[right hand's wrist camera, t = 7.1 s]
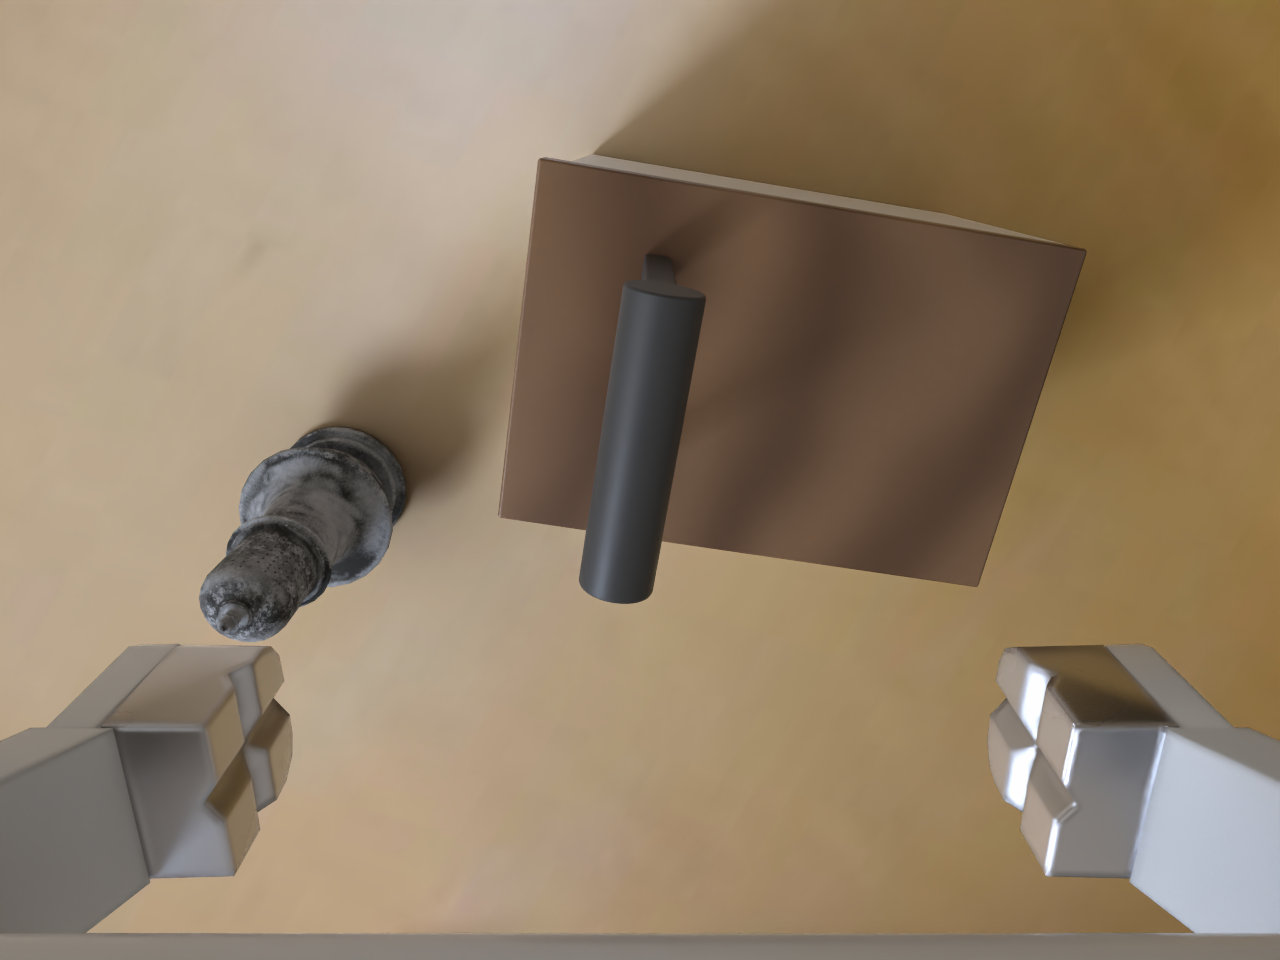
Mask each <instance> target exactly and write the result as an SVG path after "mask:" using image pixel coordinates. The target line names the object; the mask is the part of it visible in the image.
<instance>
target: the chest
mask: <svg viewBox="0 0 1280 960" xmlns="http://www.w3.org/2000/svg"><path fill="white" fill-rule="evenodd" d="M572 162H577V163H583V164H589V165H595V166H601V167H607V168H613V169H618V170H624V171H630V172H636V173H642V174H648V175H654V176H660V177H666V178H672V179H678V180H684V181H690V182H696V183H702V184H708V185H714V186H720V187H726V188H732V189H738V190H744V191H750V192H756V193H762V194H768V195H774V196H779V197H785V198H791V199H797V200H803V201H809V202H815V203H821V204H827V205H833V206H839V207H845V208H851V209H857V210H863V211H869V212H875V213H881V214H887V215H893V216H899V217H905V218H911V219H917V220H923V221H929V222H935V223H941V224H946V225H952V226H958V227H964V228H970V229H976V230H982V231H988V232H994V233H1000V234H1006V235H1012V236H1018V237H1024V238H1030V239H1036V240H1042V241H1048V242H1054V243H1059V242H1055V241H1051V240H1047V239H1043V238H1039V237H1035V236H1031V235H1027V234H1023V233H1019V232H1015V231H1011V230H1007V229H1003V228H999V227H996V226H992V225H988V224H984V223H980V222H976V221H972V220H968V219H964V218H960V217H956V216H952V215H948V214H944V213H938V212H932V211H927V210H921V209H915V208H909V207H903V206H897V205H891V204H885V203H879V202H873V201H867V200H861V199H855V198H849V197H843V196H837V195H831V194H826V193H820V192H814V191H808V190H802V189H796V188H790V187H784V186H778V185H772V184H766V183H760V182H754V181H748V180H742V179H736V178H730V177H725V176H719V175H713V174H707V173H701V172H695V171H689V170H683V169H677V168H671V167H665V166H659V165H653V164H647V163H641V162H635V161H629V160H624V159H618V158H612V157H606V156H600V155H594V154H592V155H589V156H586V157H583V158H581V159H578V160H575V161H572ZM1060 244H1063V243H1060Z"/></svg>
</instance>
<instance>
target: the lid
mask: <svg viewBox="0 0 1280 960" xmlns="http://www.w3.org/2000/svg"><path fill="white" fill-rule="evenodd" d="M1085 256H1086V250H1085V249H1082V248H1078V247H1074V246H1070V245H1066V244H1060V243H1054V242H1048V241H1042V240H1036V239H1030V238H1024V237H1018V236H1012V235H1006V234H1000V233H994V232H988V231H982V230H976V229H970V228H964V227H958V226H952V225H946V224H941V223H935V222H929V221H923V220H917V219H911V218H905V217H899V216H893V215H887V214H881V213H875V212H869V211H863V210H857V209H851V208H845V207H839V206H833V205H827V204H821V203H815V202H809V201H803V200H797V199H791V198H785V197H779V196H774V195H768V194H762V193H756V192H750V191H744V190H738V189H732V188H726V187H720V186H714V185H708V184H702V183H696V182H690V181H684V180H678V179H672V178H666V177H660V176H654V175H648V174H642V173H636V172H630V171H624V170H618V169H613V168H607V167H601V166H595V165H589V164H583V163H577V162H571V161H565V160H559V159H553V158H547V157H545V158H540V159H539V160H538V166H537V175H536V184H535V193H534V202H533V211H532V220H531V228H530V237H529V246H528V255H527V264H526V273H525V282H524V291H523V300H522V309H521V317H520V326H519V335H518V344H517V353H516V362H515V371H514V380H513V389H512V398H511V406H510V415H509V424H508V433H507V442H506V451H505V460H504V469H503V478H502V487H501V495H500V504H499V513H498V515H499V517H500V518H506V519H513V520H520V521H527V522H534V523H540V524H547V525H554V526H561V527H568V528H575V529H582V530H586V536H585V542H584V549H583V556H582V562H581V569H580V576H579V582H580V585H581V587H582V588H583V590H584V591H586V592H587V593H588V594H590V595H591V596H593V597H595V598H598V599H600V600H603V601H607V602H612V603H619V604H630V603H637V602H641V601H643V600H645V599H647V598H648V597H649V596H650V595H651V593H652V591H653V586H654V581H655V575H656V570H657V564H658V559H659V553H660V548H661V543H662V541H664V542H671V543H678V544H685V545H691V546H698V547H705V548H712V549H719V550H726V551H733V552H740V553H746V554H753V555H760V556H767V557H774V558H781V559H788V560H794V561H801V562H808V563H815V564H822V565H829V566H836V567H842V568H849V569H856V570H863V571H870V572H877V573H884V574H890V575H897V576H904V577H911V578H918V579H925V580H932V581H939V582H945V583H952V584H959V585H966V586H973V587H977V586H978V584H979V581H980V578H981V575H982V572H983V569H984V566H985V563H986V560H987V557H988V554H989V551H990V548H991V545H992V541H993V538H994V535H995V532H996V529H997V526H998V523H999V520H1000V517H1001V514H1002V511H1003V508H1004V505H1005V502H1006V498H1007V495H1008V492H1009V489H1010V486H1011V483H1012V480H1013V477H1014V474H1015V471H1016V468H1017V465H1018V462H1019V459H1020V455H1021V452H1022V449H1023V446H1024V443H1025V440H1026V437H1027V434H1028V431H1029V428H1030V425H1031V422H1032V419H1033V415H1034V412H1035V409H1036V406H1037V403H1038V400H1039V397H1040V394H1041V391H1042V388H1043V385H1044V382H1045V379H1046V376H1047V372H1048V369H1049V366H1050V363H1051V360H1052V357H1053V354H1054V351H1055V348H1056V345H1057V342H1058V339H1059V336H1060V333H1061V329H1062V326H1063V323H1064V320H1065V317H1066V314H1067V311H1068V308H1069V305H1070V302H1071V299H1072V296H1073V293H1074V290H1075V286H1076V283H1077V280H1078V277H1079V274H1080V271H1081V268H1082V265H1083V262H1084V259H1085Z"/></svg>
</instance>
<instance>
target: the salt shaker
mask: <svg viewBox="0 0 1280 960" xmlns="http://www.w3.org/2000/svg"><path fill="white" fill-rule="evenodd" d="M405 500H406V482H405V478H404V475H403V473H402V470H401V467H400V465H399V463H398V462H397V460H396V459H395V457H394V456H393V454H392V453H391V452H390V451H389V450H388V449H387V448H386V447H385V446H384V445H383V444H382V443H381V442H380V441H378V440H376V439H375V438H373V437H371V436H369V435H368V434H366V433H364V432H361V431H357V430H354V429H350V428H342V427H329V428H324V429H320V430H315V431H313V432H311V433H309V434H307V435H306V436H304V437H302V438H300V439H299V440H298V441H297V442H296V443H295V444H294V445H293V446H292V447H291V448H290V449H288V450H284V451H280V452H278V453H276V454H274V455H272V456H271V457H269V458H267V459H265V460H263V461H262V462H261V463H260V464H259V465H258V466H257V467H256V468H255V469H254V470H253V471H252V472H251V473H250V475H249V477H248V479H247V481H246V483H245V485H244V487H243V489H242V492H241V498H240V504H239V512H240V520H241V526H240V527H239V528H238V529H237V530H236V531H235V532H234V533H233V534H232V536H231V538H230V540H229V542H228V545H227V551H226V557H225V558H224V559H223V560H222V561H221V562H220V563H219V564H218V565H217V566H216V567H215V568H214V569H213V570H212V571H211V572H210V573H209V574H208V575H207V577H206V579H205V581H204V583H203V585H202V587H201V590H200V597H199V600H200V607H201V610H202V612H203V614H204V616H205V618H206V620H207V621H208V622H209V624H210V625H211V626H212V627H213V628H214V629H215V630H216V631H218V632H219V633H220V634H222V635H224V636H226V637H228V638H230V639H234V640H238V641H242V642H257V641H262V640H266V639H268V638H270V637H272V636H274V635H275V634H277V633H278V632H279V631H280V630H281V629H283V628H284V627H285V626H286V624H287V623H288V622H289V620H290V619H291V617H292V616H293V615H294V613H295V612H296V611H297V609H298V608H299V607H301V606H305V605H307V604H309V603H311V602H313V601H315V600H316V599H317V598H318V597H319V596H320V595H321V594H322V593H323V592H324V591H325V589H326V587H334V586H339V585H344V584H349V583H352V582H354V581H356V580H358V579H360V578H362V577H364V576H366V575H367V574H368V573H369V572H370V571H371V570H372V569H374V568H375V567H376V566H377V565H378V564H379V563H380V561H381V559H382V558H383V556H384V554H385V553H386V551H387V549H388V547H389V543H390V539H391V535H392V531H393V529H392V526H394V525H395V523H396V522H397V520H398V518H399V516H400V515H401V513H402V511H403V508H404V504H405Z"/></svg>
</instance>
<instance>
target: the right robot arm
mask: <svg viewBox="0 0 1280 960" xmlns="http://www.w3.org/2000/svg"><path fill="white" fill-rule="evenodd" d="M283 682H284V677H283V672H282V667H281V662H280V657H279V654H278V653H277V652H276V651H275V650H274V649H273V648H272V647H271V646H230V645H180V644H147V645H136V646H130V647H128V648H127V649H126V650H125V651H124V652H123V653H122V654H121V655H120V656H119V657H118V658H117V659H116V660H115V661H114V662H113V663H112V664H110V665H109V666H108V667H107V668H106V669H105V670H104V671H103V672H102V673H101V674H100V675H99V676H98V677H97V678H96V679H95V680H94V681H93V682H92V683H91V684H90V685H89V686H88V687H87V688H86V689H85V690H84V691H83V692H82V693H81V694H80V695H79V696H78V697H77V698H76V699H75V700H74V701H73V702H72V703H71V704H70V705H69V706H68V707H67V708H66V709H65V710H64V711H63V712H61V713H60V714H59V715H58V716H57V717H56V718H55V719H54V720H53V721H52V722H51V723H50V724H49V725H48V726H47V727H46V728H29V729H27V730H25V731H22V732H20V733H18V734H16V735H13V736H11V737H9V738H6V739H4V740H2V741H0V960H1280V741H1278V740H1276V739H1274V738H1271V737H1269V736H1267V735H1264V734H1262V733H1260V732H1258V731H1255V730H1253V729H1251V728H1234V727H1233V726H1232V725H1231V724H1230V723H1229V722H1228V721H1227V720H1226V719H1225V718H1224V717H1223V716H1222V715H1221V714H1220V713H1219V712H1218V711H1217V710H1216V709H1215V708H1214V707H1212V706H1211V705H1210V704H1209V703H1208V702H1207V701H1206V700H1205V699H1204V698H1203V697H1202V696H1201V695H1200V694H1199V693H1198V692H1197V691H1196V690H1195V689H1194V688H1193V687H1192V686H1191V685H1190V684H1189V683H1188V682H1187V681H1186V680H1185V679H1184V678H1183V677H1182V676H1181V675H1180V674H1179V673H1178V672H1177V671H1176V670H1175V669H1174V668H1173V667H1172V666H1171V665H1170V664H1169V663H1168V662H1167V661H1166V660H1165V659H1164V658H1163V657H1162V656H1161V655H1160V654H1159V653H1158V652H1157V651H1155V650H1154V649H1153V648H1152V647H1149V646H1146V645H1143V644H1117V645H1083V646H1043V647H1012V648H1005V650H1004V652H1003V654H1002V656H1001V658H1000V661H999V665H998V671H997V677H996V682H997V683H998V685H999V687H1000V688H1001V690H1002V691H1003V693H1004V694H1005V696H1006V697H1007V698H1006V699H1005V700H1004V701H1003V702H1002V703H1001V704H1000V705H999V706H998V707H997V708H996V710H995V711H994V712H993V713H992V714H991V715H990V721H989V729H988V737H987V745H988V756H989V766H990V769H991V772H992V775H993V779H994V782H995V784H996V786H997V788H998V790H999V792H1000V794H1001V796H1002V798H1003V800H1005V801H1006V802H1008V803H1009V804H1011V805H1012V806H1014V807H1015V808H1017V809H1018V810H1020V811H1022V812H1023V814H1022V819H1021V825H1020V831H1021V832H1022V834H1023V836H1024V838H1025V839H1026V841H1027V843H1028V845H1029V847H1030V848H1031V850H1032V852H1033V854H1034V856H1035V857H1036V859H1037V861H1038V863H1039V864H1040V866H1041V868H1042V870H1043V872H1044V873H1045V875H1046V876H1059V877H1095V878H1130V883H1131V884H1133V885H1134V886H1135V887H1136V888H1138V889H1139V890H1140V891H1142V892H1143V893H1144V894H1145V895H1147V896H1148V897H1149V898H1151V899H1152V900H1153V901H1154V902H1156V903H1157V904H1158V905H1160V906H1161V907H1162V908H1163V909H1165V910H1166V911H1167V912H1169V913H1170V914H1171V915H1172V916H1174V917H1175V918H1176V919H1178V920H1179V921H1180V922H1181V923H1183V924H1184V925H1185V926H1187V927H1188V928H1189V929H1190V930H1192V931H1193V932H1194V933H86V932H87V931H89V930H90V929H91V928H92V927H94V926H95V925H96V924H98V923H99V922H100V921H101V920H103V919H104V918H105V917H107V916H108V915H109V914H110V913H112V912H113V911H114V910H116V909H117V908H118V907H119V906H121V905H122V904H123V903H125V902H126V901H127V900H128V899H130V898H131V897H132V896H134V895H135V894H136V893H137V892H139V891H140V890H141V889H143V888H144V887H145V886H146V885H148V884H149V883H150V879H149V878H183V877H219V876H234V875H235V874H236V872H237V870H238V868H239V866H240V865H241V863H242V861H243V859H244V857H245V856H246V854H247V852H248V850H249V848H250V847H251V845H252V843H253V841H254V839H255V838H256V836H257V834H258V832H259V831H260V825H259V819H258V814H257V812H258V811H260V810H262V809H263V808H265V807H266V806H268V805H269V804H271V803H272V802H274V801H275V800H277V798H278V796H279V794H280V792H281V790H282V788H283V786H284V784H285V782H286V780H287V775H288V771H289V767H290V762H291V758H292V727H291V720H290V715H289V714H288V713H287V712H286V711H285V710H284V708H283V707H282V706H281V705H280V704H279V703H278V702H277V701H276V700H275V699H274V698H273V697H274V696H275V694H276V693H277V691H278V690H279V688H280V687H281V685H282V683H283Z"/></svg>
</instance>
